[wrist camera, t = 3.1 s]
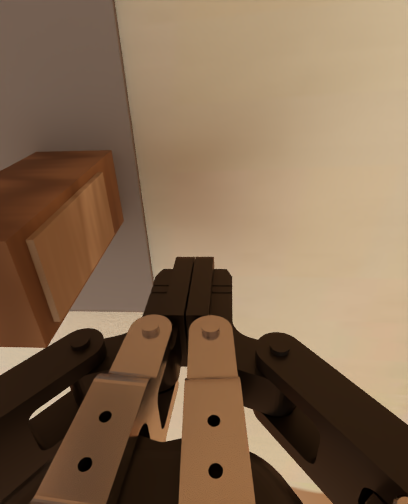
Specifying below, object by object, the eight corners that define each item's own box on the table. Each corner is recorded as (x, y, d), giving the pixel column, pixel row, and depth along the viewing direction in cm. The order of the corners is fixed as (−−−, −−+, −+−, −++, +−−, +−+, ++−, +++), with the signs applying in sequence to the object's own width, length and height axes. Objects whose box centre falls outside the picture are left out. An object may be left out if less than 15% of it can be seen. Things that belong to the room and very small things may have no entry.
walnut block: (56, 221, 24) (-68, 345, 14) (36, 151, 22) (-133, 241, 12) (128, 220, 24) (53, 347, 14) (116, 149, 22) (14, 241, 11)
